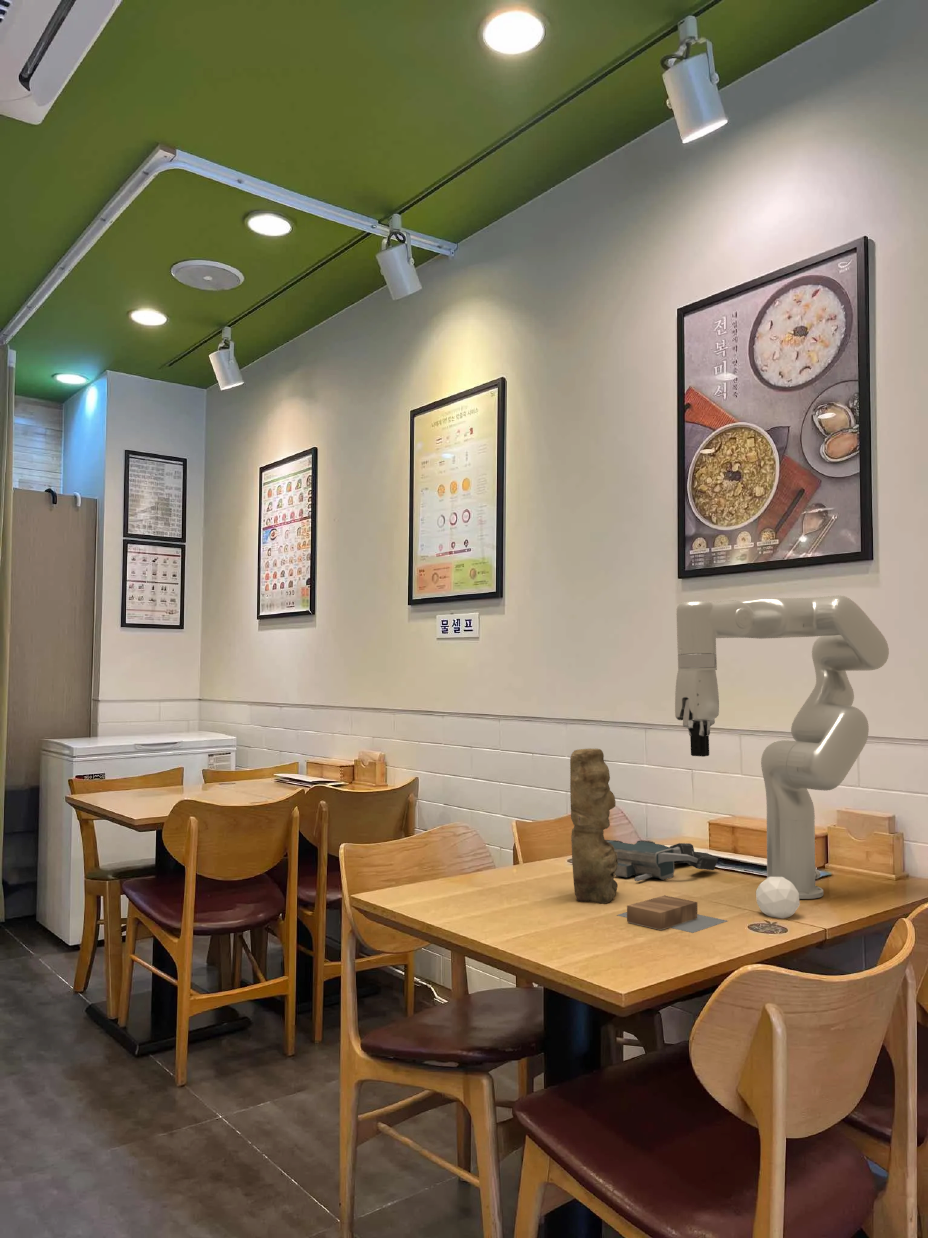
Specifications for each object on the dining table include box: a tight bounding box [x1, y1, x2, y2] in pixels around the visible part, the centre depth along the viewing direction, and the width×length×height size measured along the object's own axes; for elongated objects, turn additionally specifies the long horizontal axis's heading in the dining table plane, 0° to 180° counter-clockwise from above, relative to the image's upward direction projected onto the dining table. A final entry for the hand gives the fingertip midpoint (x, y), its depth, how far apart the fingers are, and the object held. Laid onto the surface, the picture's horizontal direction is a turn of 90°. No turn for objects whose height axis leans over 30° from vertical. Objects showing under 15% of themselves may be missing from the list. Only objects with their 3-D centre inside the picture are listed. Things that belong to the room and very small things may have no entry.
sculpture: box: [569, 748, 618, 905], centre depth 186 cm, size 12×9×30 cm
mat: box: [616, 911, 728, 934], centre depth 168 cm, size 12×16×1 cm
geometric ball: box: [755, 877, 801, 919], centre depth 172 cm, size 8×8×8 cm
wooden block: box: [626, 894, 698, 931], centre depth 166 cm, size 3×7×12 cm
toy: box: [605, 839, 719, 882], centre depth 215 cm, size 27×9×30 cm
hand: (700, 755), depth 183 cm, fingers closed
